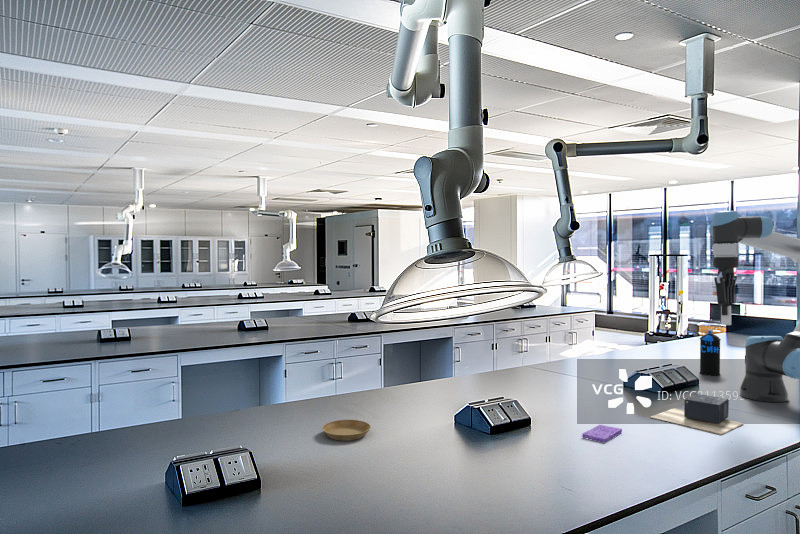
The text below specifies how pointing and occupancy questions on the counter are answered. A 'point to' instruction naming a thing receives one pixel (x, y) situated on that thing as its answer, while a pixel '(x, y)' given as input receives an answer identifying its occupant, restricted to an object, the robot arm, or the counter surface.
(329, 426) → the plant saucer
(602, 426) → the sponges
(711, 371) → the aerosol can
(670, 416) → the tan flat board
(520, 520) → the counter surface
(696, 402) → the small box
